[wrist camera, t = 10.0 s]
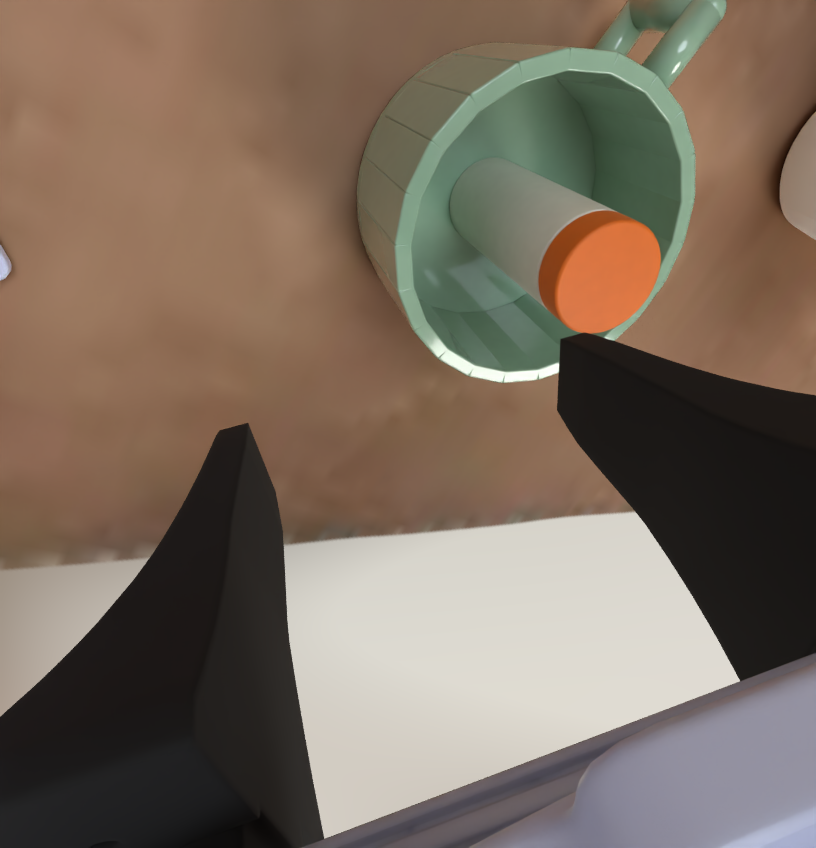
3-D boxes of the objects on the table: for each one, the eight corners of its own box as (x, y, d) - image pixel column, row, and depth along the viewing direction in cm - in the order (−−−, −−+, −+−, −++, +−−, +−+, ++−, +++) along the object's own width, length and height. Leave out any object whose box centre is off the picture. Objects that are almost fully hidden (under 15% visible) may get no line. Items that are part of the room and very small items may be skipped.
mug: (488, 353, 25) (546, 421, 20) (303, 237, 20) (328, 296, 15) (694, 98, 21) (820, 117, 16) (529, -135, 15) (649, -195, 11)
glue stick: (452, 250, 21) (552, 346, 15) (445, 166, 19) (557, 235, 13) (524, 233, 21) (652, 319, 15) (525, 149, 19) (671, 208, 13)
